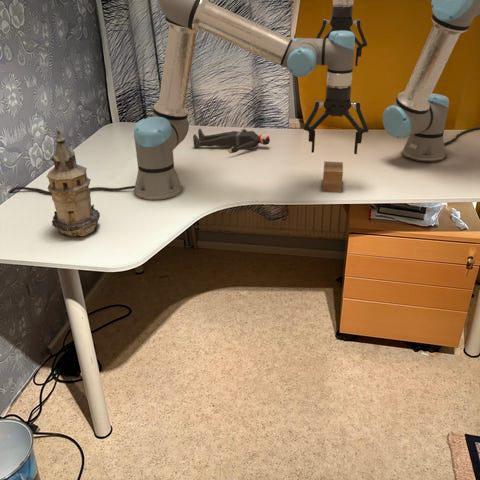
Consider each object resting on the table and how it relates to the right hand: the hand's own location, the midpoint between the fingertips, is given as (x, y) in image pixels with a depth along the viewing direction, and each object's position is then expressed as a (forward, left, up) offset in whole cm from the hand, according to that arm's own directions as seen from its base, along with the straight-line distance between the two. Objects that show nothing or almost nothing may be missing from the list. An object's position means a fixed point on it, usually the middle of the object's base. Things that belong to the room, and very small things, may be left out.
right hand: (338, 65), depth 208 cm
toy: (+38, -18, -29) cm, 52 cm away
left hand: (+35, +35, -17) cm, 53 cm away
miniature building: (+114, +12, -29) cm, 119 cm away
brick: (+35, +35, -29) cm, 58 cm away
